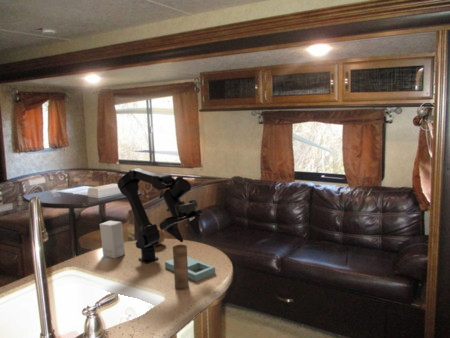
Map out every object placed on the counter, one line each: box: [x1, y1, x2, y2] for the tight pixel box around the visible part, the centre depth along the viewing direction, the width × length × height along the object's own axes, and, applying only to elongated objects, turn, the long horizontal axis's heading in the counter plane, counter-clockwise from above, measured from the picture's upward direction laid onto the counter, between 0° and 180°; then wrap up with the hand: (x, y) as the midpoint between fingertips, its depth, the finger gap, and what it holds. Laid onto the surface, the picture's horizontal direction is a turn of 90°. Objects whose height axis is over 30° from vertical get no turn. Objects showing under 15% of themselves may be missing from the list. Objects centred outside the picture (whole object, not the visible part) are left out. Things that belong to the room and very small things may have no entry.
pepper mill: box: [172, 244, 190, 291], centre depth 129 cm, size 5×5×15 cm
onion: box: [157, 225, 166, 246], centre depth 176 cm, size 10×9×10 cm
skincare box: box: [99, 220, 126, 260], centre depth 163 cm, size 8×7×16 cm
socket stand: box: [164, 255, 216, 283], centre depth 144 cm, size 20×10×2 cm, turn 44°
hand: (190, 238), depth 138 cm, fingers open, 9 cm apart
